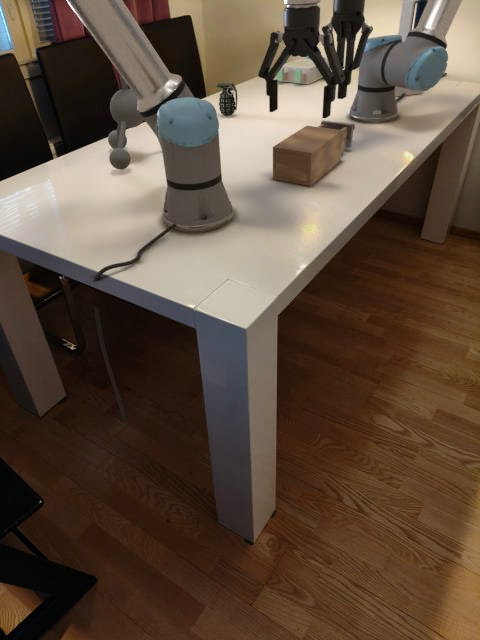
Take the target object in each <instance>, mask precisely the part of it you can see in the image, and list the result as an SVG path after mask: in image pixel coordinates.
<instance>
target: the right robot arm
mask: <svg viewBox="0 0 480 640" xmlns="http://www.w3.org/2000/svg"><path fill="white" fill-rule="evenodd" d="M462 2H463V0H428V2H427V4H426V7H425V9H424V11H423V14H422V16H421V18H420V20H419V23H418V25H417V27H416V28H415V29H414V28H412V30H411V31H409V32H408V35H407V37H406V39H405V42H402V36H401V35H398V34H389V35H381V36H374V37H370V38H369V36H370V35H371V34H372V32H373V31H374V27H373V26H372V25H371V26H370V25H369V24H367V22H366V18H365V15H364V13H365V4H366V0H333V2H332V16H331V18H330V22H329V23H327V24H326V25H323V26H322V27H321V32H322V34H328V33H330V32H332V33H333V32H334V33H335V34H336V44H337V45H335V43H334V47H335V48H336V53H337V55H338V58H339V61H340V64H341V67H342V70H343V73H344V76H345V81H343V82H342V83H340V84H337V97H336V99H337V100H338V99H339V100H343V99H345V98H346V97H347V93H348V86H349V85H350V84H351V83H352V74H353V71H355V70H357V69H358V76H357V77H358V78H357V79H358V80H357V90H356V94H355V96H354V98H353V101H352V104H351V106H350V108H349V115H348V117H349V118H350V119H352V120H354V121H356V122H360V123H370V124H376V123H378V124H379V123H380V124H381V123H388V122H391V121H394V120H396V119H397V118H398V112H399V111H398V104H397V103H398V102H399V101H400V100H401V99H403V98H404V97H405V96H407V95H406V94H405V93H404V94H403V95H401V96H398V98H397V97H395V86H396V87H401V88H406V89H409V90H411V91H416V90H417V91H422V92H425V91H428V90H430V89H432V88H434V87H435V86H436V85H437V84H438V83H439V82H440V81H441V79H442V78H443V77H444V76H446V75H448V73H447V72H446V70H447V67H448V60H449V54H448V51H447V48H448V41H447V40H446V39H447V38H446V36H447V35H448V33H449V30H450V28H451V27H452V23H453V22H454V19H455V16H456V14H457V13H458V11H459V8H460V6H461V3H462ZM360 30H361V31H360ZM359 32H360V34H361V35H360V37H359V40H358V44H357V47H356V51H355V43H356V40H357V35H358V33H359ZM344 62H345V63H344ZM329 67H330V64H329ZM330 68H331V67H330Z"/></svg>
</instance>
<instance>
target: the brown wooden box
mask: <svg viewBox="0 0 480 640" xmlns="http://www.w3.org/2000/svg"><path fill="white" fill-rule="evenodd" d="M342 137H343V130H337V129H329V128H322V127H318V126H312V125H305V126H304V127H302V128H301V129H299V130H297V131H295V132H294V133H292V134H291V135H289V136H288V137H287V138H284V139H283V140H281V141H279V143H277V144H275V145H274V146H272V180H274V181H279V182H285V183H290V184H295V185H300V186H306V187H311V186H313V185H314V184H315V183H317V181H319V180H321V178H322V177H324V176H325V175H326V174H328V172H330V171H331V170H333V168H334V167H336V166H337V165H338V164H339V163H341V162H342V161H341V159H342V151H341V150H342Z"/></svg>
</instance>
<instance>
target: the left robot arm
mask: <svg viewBox="0 0 480 640" xmlns="http://www.w3.org/2000/svg"><path fill="white" fill-rule="evenodd" d="M66 1H67V3H68V5H69V6H70V8H71V9H72V10H73V12H74V13H75V14H76V16H77V17H78V19H79V20H80V21H81V22H82V24H83V26H85V28H86V29H87V30H88V32H89V33H90V35H91V36H92V37H93V39H94V40H95V42H96V43H97V44H98V46H99V47H100V49H101V50H102V52H103V53H104V54H105V55H106V57H107V58H108V60H109V61H110V63H111V64H112V65H113V66H114V68H115V70H117V73H118V74H119V73H120V75H121V76H122V77H123V79H124V80H125V82H126V83H127V87H128V88H129V89H131V90H132V91H133V93H134V94H135V95H136V97H137V98H138V104H137V110H138V111H139V113H140V114H141V116H142V117H143V118H144V120H145V121H144V122H146V124H147V125H148V126H149V128H150V130H151V131H152V132H153V134H154V135H155V136H156V138H157V140H158V143H159V146H160V148H161V153H162V159H163V168H164V173H165V180H166V190H165V191H166V192H165V196H164V203H163V207H162V218H163V222H164V224H165V226H167V228H166V229H165V230H163V231H162V232H160V233H159V234H158V235H156V236H155V237H154V238H153V239H151V240H149V242H147V243H146V244H144V245H143V246H142V247H141V248H140V249H138V251H137V253H136V256H135V257H134V258H133V259H130V260H127V261H123V262H118V263H113V264H109V265H107V266H103V268H101V269H100V270H99V271H98V272H97V273H96V274H95V276H94V278H93V279H92V282H93V283H96V282H97V281H98V280H99V279H100V277H102V275H103V274H105V273H106V272H107V271H110V270H112V269H117V268H123V267H127V266H131V265H133V264H135V263H137V262H138V261H140V259H141V256H142V254H143V253H144V252H145V251H146V250H147V249H148V248H150V247H151V246H152V245H154V244H155V243H156V242H158V241H159V240H160V239H162V238H163V237H164V236H165V235H167V234H168V233H169V232H171V231H172V230H173V231H177V232H180V233H190V234H191V233H192V234H193V233H194V234H195V233H196V234H197V233H205V232H206V233H207V232H210V231H215V230H216V229H220V228H222V227H224V226H226V225H227V224H228V223H230V221H231V220H232V218H233V216H234V212H233V211H234V210H233V205H232V201H231V200H230V197H229V195H228V192H227V190H226V187H225V184H224V182H223V175H222V174H223V173H222V161H221V147H220V146H221V145H220V133H219V131H220V130H219V129H220V122H219V118H218V114H217V109H216V108H215V105H213V104H212V103H211V102H210V101H208V100H207V99H206V100H205V99H201V98H199V97H195V95H194V94H193V92H192V91H191V89H190V88H189V86H188V84H186V82H185V80H184V79H183V77H182V76H181V75H179V74H175V73H171V72H170V71H169V69H168V67H167V66H166V65H165V63H164V62H163V60H162V59H161V57H160V56H159V54H158V52H157V51H156V50H155V48H154V46H153V45H152V43H151V42H150V40H149V39H148V37H147V36H146V34H145V32H144V31H143V30H142V27H140V25H139V23H138V22H137V20H136V19H135V17H134V16H133V14H132V13H131V11H130V10H129V8H128V6H127V5H126V3H125V2H124V0H66ZM319 3H321V0H283V4H284V5H286V7H284V9H283V29H284V30H283V32H281V31H280V30H276V31H275V30H274V31H272V32H271V33H270V35H269V45H268V47H267V50H266V52H265V55H264V59H263V60H262V63H261V66H260V68H259V70H258V74H257V76H258V78H259V79H261V78H262V79H263V80H264V81H265V86H266V87H265V88H266V89H265V93H266V96H267V97H268V99H269V100H268V101H269V102H268V103H269V104H268V105H269V106H268V107H269V111H268V112H269V113H274V112H276V111H277V110H278V109H279V106H278V105H279V104H278V103H279V102H278V101H279V100H278V99H279V98H278V97H279V96H278V95H279V93H278V92H279V89H278V88H279V84H278V82H279V81H278V80H276V75H277V74H278V72H279V71H280V69H281V68H282V67H283V65H284V64H285V62H287V61H288V60H289V58H290V57H294V58H296V57H301V58H306V57H307V56H308V57H309V58H310V59H311V60H312V61H313V62H314V64H315V66H316V67H317V69H318V70H319V72H320V74H321V75H322V77H323V78H322V79H323V80H324V82H325V83H326V85H325V86H323V98H322V116H321V117H322V119H327V118H328V117H330V116H331V113H332V111H331V110H332V103H333V102H334V101H335V99H336V91H337V90H336V89H337V86H338V84H340V83H342V82H343V81H345V76H344V73H343V70H344V69H342V67H341V64H340V61H339V58H338V55H337V49H336V46H335V47H334V44H335V38H334V33H333V32H330V33H328V34H323V33H322V34H321V33H320V23H321V7H320V5H318V4H319ZM282 42H283V43H284V46H285V47H284V48H283V50H282V51H281V53H280V55H279V56H278V57H277V59H276V60H275V56H276V54H277V52H278V49H279V46H280V44H281V43H282ZM319 43H321V46H323V50H324V54H325V56H326V58H327V59H328V62H329V64H330V67H331V70H330V68H329V66H328V65H327V63H326V62H325V60H324V58H323V55H322V52H321V50H320V48H319V47H318V45H319ZM274 60H275V62H274ZM273 62H274V64H273ZM120 75H119V76H120ZM93 309H94V316H95V317H94V318H95V323H96V329H97V335H98V339H99V344H100V348H101V352H102V357H103V360H104V363H105V366H106V371H107V372H108V376H109V379H110V382H111V385H112V388H113V391H114V394H115V398H116V400H117V404H118V407H119V410H120V413H121V416H122V421H123V424H124V426H128V424H129V423H128V419H127V416H126V412H125V407H124V405H123V402H122V397H121V395H120V392H119V389H118V385H117V382H116V379H115V376H114V374H113V370H112V367H111V364H110V360H109V356H108V352H107V350H106V345H105V339H104V335H103V330H102V329H103V328H102V322H101V317H100V316H101V315H100V308H99V307H97V306H94V307H93Z"/></svg>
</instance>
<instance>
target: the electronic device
mask: <svg viewBox="0 0 480 640" xmlns="http://www.w3.org/2000/svg"><path fill="white" fill-rule="evenodd" d="M427 2H428V0H402V3H401V11H400V18H399V26H398V34H397V35H401V36H402V42H405V39H406V37H407V35H408V32H409V31H411V30H413V29H415V28H416V27H417V25H418V23H419V20H420V18H421V16H422V14H423V11H424V9H425V7H426V4H427ZM422 92H423V91H417V90H416V91H411V90H409V89H406V88H401V87H396V86H395V97H396V98H397V97H400V96H401V95H403V94H404V93H405V94H406V95H405V96H412V95H418V94H421V93H422Z"/></svg>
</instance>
